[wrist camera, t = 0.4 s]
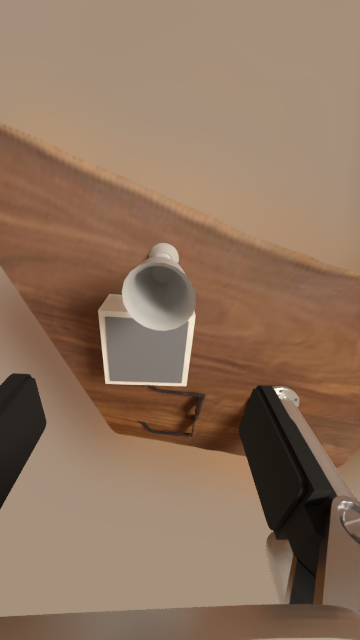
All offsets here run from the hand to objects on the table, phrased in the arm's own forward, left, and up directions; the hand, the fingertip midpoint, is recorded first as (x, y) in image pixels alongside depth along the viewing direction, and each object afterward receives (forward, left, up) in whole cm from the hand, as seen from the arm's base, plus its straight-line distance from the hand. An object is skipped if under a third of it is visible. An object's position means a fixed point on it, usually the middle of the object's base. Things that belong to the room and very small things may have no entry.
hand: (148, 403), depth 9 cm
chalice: (0, 0, -31) cm, 31 cm away
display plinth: (-15, +2, -30) cm, 34 cm away
